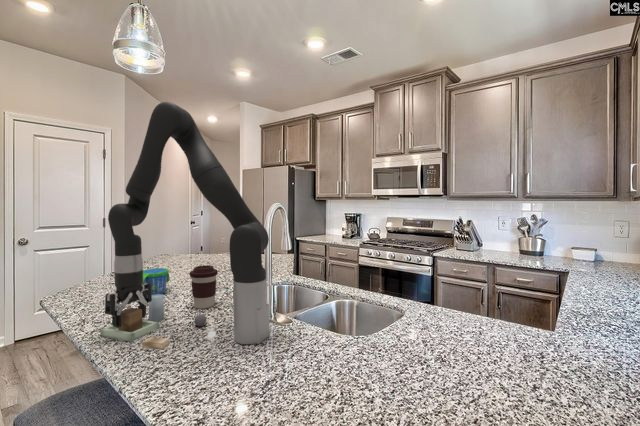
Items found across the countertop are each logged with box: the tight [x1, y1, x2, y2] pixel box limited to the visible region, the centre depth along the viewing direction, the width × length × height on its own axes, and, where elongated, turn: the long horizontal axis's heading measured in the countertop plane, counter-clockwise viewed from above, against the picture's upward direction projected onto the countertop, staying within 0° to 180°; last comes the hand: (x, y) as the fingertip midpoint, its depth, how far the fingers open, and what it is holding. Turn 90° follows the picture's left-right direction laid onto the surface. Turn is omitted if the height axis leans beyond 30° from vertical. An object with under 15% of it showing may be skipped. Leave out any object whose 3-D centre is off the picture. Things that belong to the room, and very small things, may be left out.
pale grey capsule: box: [147, 294, 165, 322], centre depth 111 cm, size 5×5×8 cm
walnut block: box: [118, 307, 143, 332], centre depth 101 cm, size 4×4×6 cm
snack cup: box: [142, 267, 171, 295], centre depth 142 cm, size 16×10×10 cm
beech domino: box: [141, 336, 170, 350], centre depth 91 cm, size 6×3×2 cm, turn 79°
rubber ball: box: [194, 314, 207, 327], centre depth 105 cm, size 4×4×4 cm
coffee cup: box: [189, 264, 218, 310], centre depth 125 cm, size 10×10×15 cm
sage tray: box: [99, 319, 160, 342], centre depth 101 cm, size 12×10×2 cm
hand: (130, 322), depth 101 cm, fingers open, 8 cm apart
